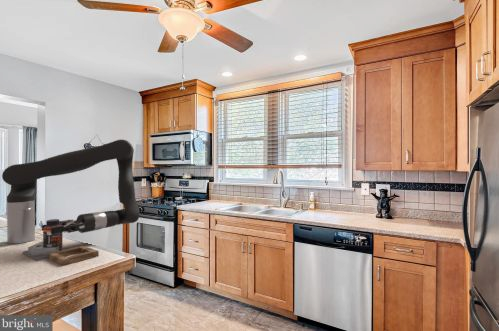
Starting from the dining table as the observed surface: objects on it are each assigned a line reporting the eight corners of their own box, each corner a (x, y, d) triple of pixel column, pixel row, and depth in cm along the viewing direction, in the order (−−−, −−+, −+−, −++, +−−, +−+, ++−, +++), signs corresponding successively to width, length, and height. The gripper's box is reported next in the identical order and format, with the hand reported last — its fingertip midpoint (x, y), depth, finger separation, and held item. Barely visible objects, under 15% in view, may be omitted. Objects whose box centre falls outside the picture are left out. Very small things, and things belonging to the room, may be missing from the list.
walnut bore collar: (48, 258, 95) (48, 253, 95) (82, 250, 104) (82, 245, 104) (63, 265, 88) (63, 260, 88) (98, 255, 97) (98, 250, 97)
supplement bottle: (52, 252, 99) (52, 221, 99) (38, 251, 100) (38, 221, 100) (66, 247, 105) (66, 218, 105) (53, 247, 106) (53, 218, 106)
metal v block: (22, 253, 101) (22, 244, 101) (50, 247, 108) (50, 239, 108) (37, 260, 92) (37, 251, 92) (67, 253, 100) (67, 245, 100)
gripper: (84, 211, 118) (39, 217, 105) (100, 214, 110) (54, 221, 97) (84, 228, 118) (39, 237, 105) (100, 233, 110) (54, 242, 97)
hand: (46, 229), depth 101 cm, fingers open, 8 cm apart
